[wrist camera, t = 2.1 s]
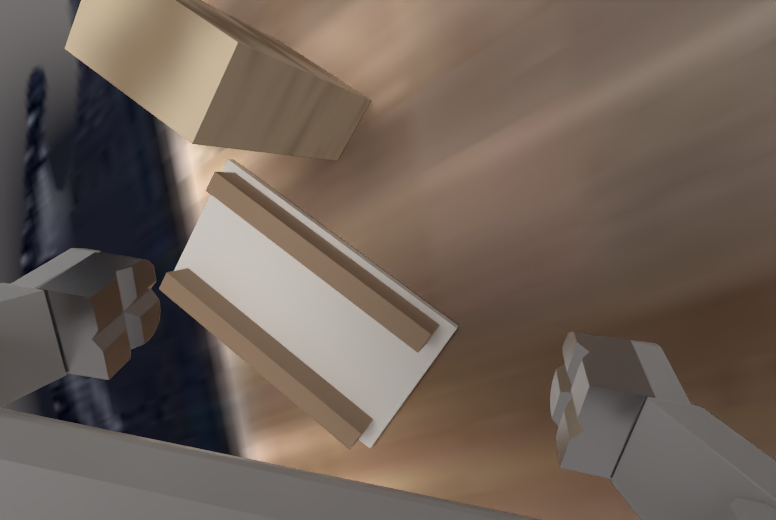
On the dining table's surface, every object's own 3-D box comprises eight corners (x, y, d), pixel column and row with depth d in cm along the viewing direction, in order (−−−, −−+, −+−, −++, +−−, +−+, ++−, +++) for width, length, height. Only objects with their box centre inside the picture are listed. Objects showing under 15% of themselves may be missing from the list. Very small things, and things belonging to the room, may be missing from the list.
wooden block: (249, 99, 36) (64, 48, 23) (278, 40, 34) (98, -52, 21) (337, 160, 34) (192, 143, 21) (371, 100, 33) (238, 42, 20)
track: (174, 279, 40) (147, 286, 37) (233, 159, 37) (207, 157, 34) (373, 444, 36) (357, 464, 33) (458, 325, 33) (449, 338, 30)
